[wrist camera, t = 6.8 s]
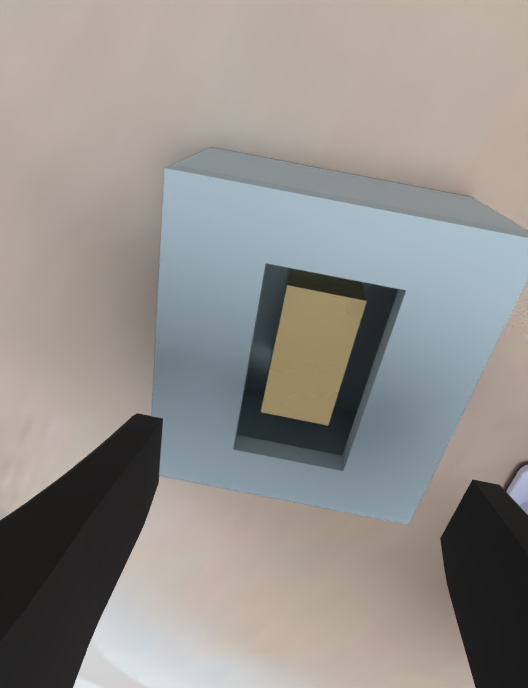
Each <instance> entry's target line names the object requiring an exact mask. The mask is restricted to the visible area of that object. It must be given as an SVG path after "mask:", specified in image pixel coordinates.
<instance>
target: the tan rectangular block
mask: <svg viewBox="0 0 528 688" xmlns="http://www.w3.org/2000/svg"><path fill="white" fill-rule="evenodd" d="M366 302H367V300H366V296H365V292H364V288H363V285H362V282H360V281H355V280H350V279H344V278H339V277H334V276H329V275H324V274H319V273H314V272H308V271H303V270H298V269H293V268H288V273H287V278H286V283H285V288H284V292H283V297H282V302H281V307H280V312H279V316H278V321H277V326H276V331H275V336H274V340H273V345H272V350H271V356H270V361H269V367H268V373H267V379H266V384H265V390H264V396H263V402H262V408H261V412H263V413H268V414H273V415H278V416H283V417H288V418H293V419H298V420H303V421H308V422H313V423H318V424H323V425H329V422H330V418H331V415H332V412H333V409H334V405H335V402H336V399H337V396H338V392H339V389H340V386H341V383H342V380H343V376H344V373H345V370H346V367H347V363H348V360H349V357H350V354H351V350H352V347H353V344H354V341H355V338H356V334H357V331H358V328H359V325H360V321H361V318H362V315H363V312H364V308H365V305H366Z"/></svg>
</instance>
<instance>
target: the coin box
mask: <svg viewBox="0 0 528 688" xmlns="http://www.w3.org/2000/svg"><path fill="white" fill-rule="evenodd" d="M288 268H293V269H298V270H303V271H308V272H314V273H319V274H324V275H329V276H334V277H339V278H344V279H350V280H355V281H360V282H362V285H363V288H364V292H365V296H366V300H367V302H366V305H365V308H364V312H363V315H362V318H361V321H360V325H359V328H358V331H357V334H356V338H355V341H354V344H353V347H352V350H351V354H350V357H349V360H348V363H347V367H346V370H345V373H344V376H343V380H342V383H341V386H340V389H339V392H338V396H337V399H336V402H335V405H334V409H333V412H332V415H331V418H330V422H329V425H323V424H318V423H313V422H308V421H303V420H298V419H293V418H288V417H283V416H278V415H273V414H268V413H263V412H261V408H262V402H263V396H264V390H265V384H266V379H267V373H268V367H269V361H270V356H271V350H272V345H273V340H274V336H275V331H276V326H277V321H278V316H279V312H280V307H281V302H282V297H283V292H284V288H285V283H286V278H287V273H288ZM527 279H528V230H526V229H525V228H523V227H521V226H520V225H518V224H516V223H515V222H513V221H511V220H510V219H508V218H506V217H505V216H503V215H501V214H500V213H498V212H496V211H495V210H493V209H492V208H490V207H488V206H487V205H485V204H483V203H482V202H480V201H478V200H477V199H475V198H473V197H468V196H463V195H458V194H453V193H447V192H442V191H437V190H432V189H426V188H421V187H416V186H411V185H406V184H400V183H395V182H390V181H385V180H380V179H374V178H369V177H364V176H359V175H354V174H348V173H343V172H338V171H333V170H328V169H322V168H317V167H312V166H307V165H301V164H296V163H291V162H286V161H281V160H275V159H270V158H265V157H260V156H255V155H249V154H244V153H239V152H234V151H229V150H223V149H218V148H213V147H211V148H208V149H206V150H204V151H202V152H199V153H197V154H195V155H193V156H190V157H188V158H186V159H184V160H181V161H179V162H177V163H175V164H172V165H170V166H168V167H166V168H165V170H164V189H163V207H162V226H161V245H160V263H159V282H158V301H157V319H156V338H155V356H154V375H153V394H152V412H151V416H153V417H158V418H163V427H162V441H161V455H160V470H159V476H163V477H168V478H173V479H178V480H183V481H188V482H193V483H198V484H203V485H208V486H213V487H219V488H224V489H229V490H234V491H239V492H244V493H249V494H254V495H259V496H264V497H269V498H274V499H279V500H284V501H289V502H294V503H300V504H305V505H310V506H315V507H320V508H325V509H330V510H335V511H340V512H345V513H350V514H355V515H360V516H365V517H370V518H375V519H381V520H386V521H391V522H396V523H401V524H406V525H409V523H410V521H411V519H412V517H413V515H414V513H415V511H416V509H417V507H418V504H419V502H420V500H421V498H422V496H423V494H424V492H425V490H426V488H427V486H428V484H429V482H430V480H431V478H432V476H433V473H434V471H435V469H436V467H437V465H438V463H439V461H440V459H441V457H442V455H443V453H444V451H445V449H446V447H447V445H448V442H449V440H450V438H451V436H452V434H453V432H454V430H455V428H456V426H457V424H458V422H459V420H460V418H461V416H462V414H463V411H464V409H465V407H466V405H467V403H468V401H469V399H470V397H471V395H472V393H473V391H474V389H475V387H476V385H477V382H478V380H479V378H480V376H481V374H482V372H483V370H484V368H485V366H486V364H487V362H488V360H489V358H490V356H491V354H492V351H493V349H494V347H495V345H496V343H497V341H498V339H499V337H500V335H501V333H502V331H503V329H504V327H505V325H506V323H507V320H508V318H509V316H510V314H511V312H512V310H513V308H514V306H515V304H516V302H517V300H518V298H519V296H520V294H521V292H522V289H523V287H524V285H525V283H526V281H527Z"/></svg>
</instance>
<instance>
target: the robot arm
mask: <svg viewBox="0 0 528 688" xmlns="http://www.w3.org/2000/svg"><path fill="white" fill-rule="evenodd" d="M162 427H163V418H158V417H153V416H148V415H143V414H138V413H137V414H135V415H134V416H132V417H131V418H130V419H129V420H128V421H127V422H126V423H125V424H123V425H122V426H121V427H120V428H119V429H118V430H117V431H116V432H115V433H113V434H112V435H111V436H110V437H109V438H108V439H107V440H105V441H104V442H103V443H102V444H101V445H100V446H98V447H97V448H96V449H95V450H94V451H93V452H91V453H90V454H89V455H88V456H87V457H85V458H84V459H83V460H82V461H80V462H79V463H78V464H77V465H75V466H74V467H73V468H72V469H71V470H69V471H68V472H67V473H66V474H64V475H63V476H62V477H60V478H59V479H58V480H56V481H55V482H54V483H52V484H51V485H50V486H48V487H47V488H46V489H44V490H43V491H41V492H40V493H39V494H37V495H36V496H35V497H33V498H32V499H31V500H29V501H28V502H27V503H25V504H24V505H22V506H21V507H19V508H18V509H16V510H15V511H13V512H12V513H11V514H9V515H8V516H6V517H5V518H3V519H2V520H0V688H73V686H74V683H75V680H76V678H77V675H78V672H79V670H80V667H81V664H82V661H83V659H84V656H85V654H86V651H87V648H88V645H89V643H90V641H91V638H92V636H93V634H94V631H95V629H96V627H97V624H98V622H99V620H100V617H101V615H102V613H103V611H104V609H105V607H106V605H107V603H108V600H109V598H110V596H111V594H112V592H113V590H114V588H115V586H116V583H117V581H118V579H119V577H120V575H121V573H122V571H123V569H124V567H125V564H126V562H127V560H128V558H129V556H130V554H131V552H132V549H133V547H134V545H135V543H136V541H137V539H138V537H139V534H140V532H141V530H142V528H143V526H144V524H145V521H146V518H147V515H148V512H149V509H150V506H151V504H152V501H153V498H154V495H155V492H156V489H157V486H158V483H159V470H160V455H161V441H162ZM441 546H442V554H443V561H444V568H445V574H446V580H447V585H448V589H449V593H450V597H451V601H452V604H453V608H454V612H455V615H456V619H457V623H458V626H459V630H460V633H461V637H462V641H463V644H464V648H465V651H466V655H467V658H468V662H469V666H470V669H471V673H472V676H473V680H474V683H475V687H476V688H528V465H525V466H523V467H521V469H520V470H519V471H518V473H517V474H516V476H515V478H514V479H513V481H512V482H511V484H510V486H509V487H508V489H507V491H505V490H504V489H503V488H502V487H501V486H500V485H497V484H492V483H487V482H482V481H477V480H472V482H471V483H470V485H469V487H468V489H467V491H466V493H465V494H464V496H463V498H462V500H461V502H460V504H459V505H458V507H457V509H456V511H455V513H454V514H453V516H452V518H451V520H450V522H449V524H448V525H447V527H446V529H445V531H444V533H443V535H442V536H441Z"/></svg>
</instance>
